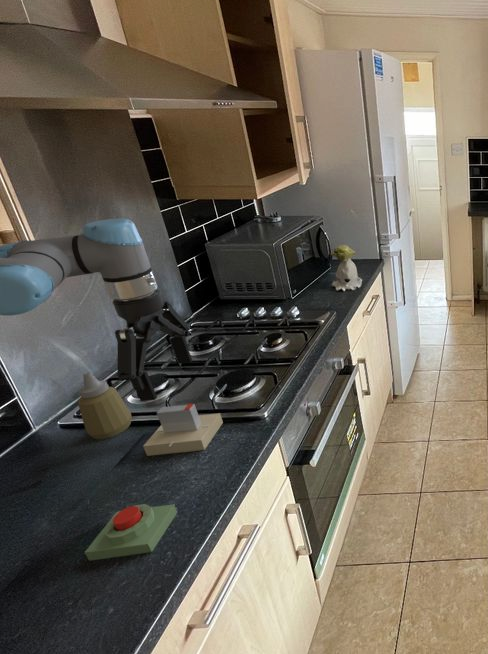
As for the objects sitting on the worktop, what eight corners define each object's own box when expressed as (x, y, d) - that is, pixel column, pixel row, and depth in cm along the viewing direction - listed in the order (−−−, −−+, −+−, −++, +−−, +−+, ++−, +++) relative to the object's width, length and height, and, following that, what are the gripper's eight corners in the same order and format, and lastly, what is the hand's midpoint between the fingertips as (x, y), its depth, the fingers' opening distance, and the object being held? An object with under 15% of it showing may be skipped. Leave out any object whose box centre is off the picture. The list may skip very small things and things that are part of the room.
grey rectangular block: (164, 433, 97) (156, 412, 95) (169, 427, 99) (161, 406, 97) (197, 430, 98) (189, 408, 96) (201, 424, 100) (194, 403, 98)
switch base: (144, 459, 94) (139, 449, 93) (173, 424, 104) (169, 414, 103) (202, 453, 96) (198, 443, 94) (225, 419, 106) (222, 409, 105)
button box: (88, 560, 73) (80, 545, 72) (120, 519, 80) (113, 504, 79) (151, 552, 75) (144, 537, 73) (177, 512, 82) (171, 497, 80)
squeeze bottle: (130, 418, 106) (105, 358, 99) (141, 431, 102) (115, 370, 95) (87, 437, 100) (57, 375, 93) (97, 452, 96) (66, 389, 89)
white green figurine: (357, 277, 192) (351, 239, 185) (366, 286, 182) (361, 246, 176) (330, 283, 185) (323, 244, 178) (339, 293, 176) (332, 252, 169)
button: (111, 532, 74) (107, 525, 74) (125, 514, 78) (121, 507, 77) (133, 529, 75) (130, 522, 74) (146, 511, 78) (143, 504, 77)
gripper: (112, 322, 74) (151, 415, 82) (189, 270, 97) (214, 347, 105) (64, 325, 73) (109, 420, 81) (154, 272, 96) (181, 350, 104)
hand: (168, 379), depth 93 cm, fingers open, 13 cm apart
